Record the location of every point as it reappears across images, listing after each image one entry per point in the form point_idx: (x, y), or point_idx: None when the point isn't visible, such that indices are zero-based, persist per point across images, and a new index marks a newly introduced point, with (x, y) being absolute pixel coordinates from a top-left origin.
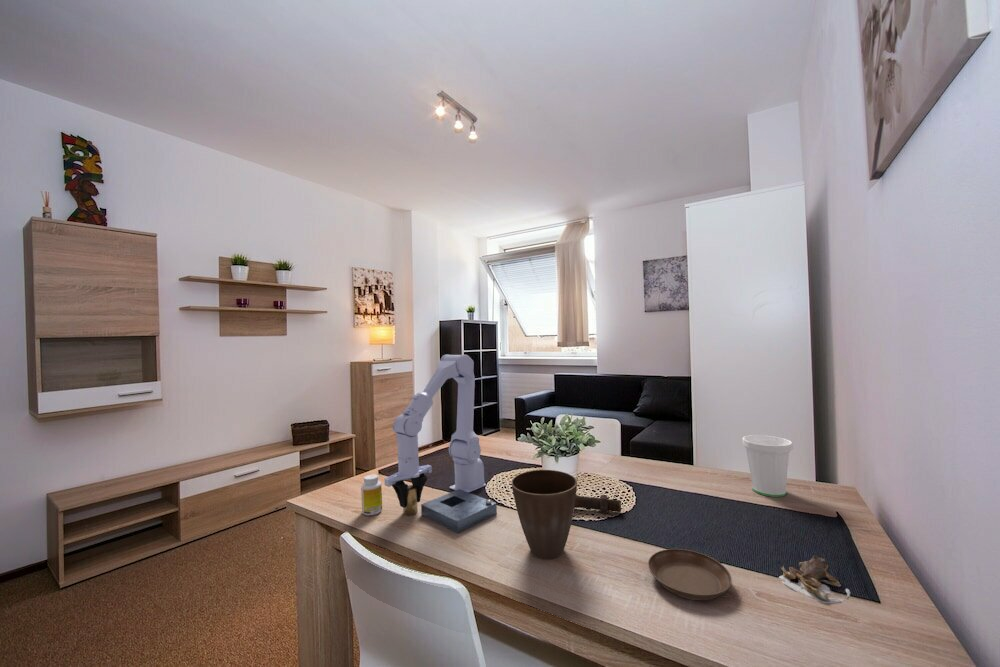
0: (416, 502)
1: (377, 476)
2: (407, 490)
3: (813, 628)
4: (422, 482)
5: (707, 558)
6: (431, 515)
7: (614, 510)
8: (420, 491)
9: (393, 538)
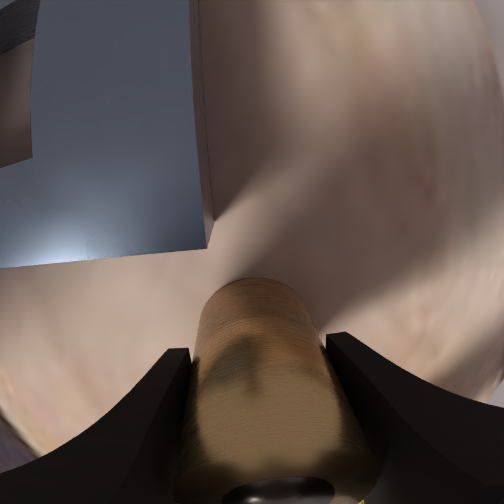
0: (218, 333)
1: None
2: (357, 461)
3: None
4: (65, 494)
5: None
6: (197, 65)
7: None
8: (137, 408)
9: (492, 88)
